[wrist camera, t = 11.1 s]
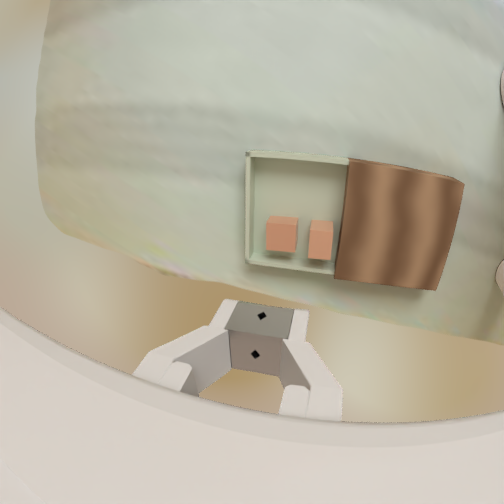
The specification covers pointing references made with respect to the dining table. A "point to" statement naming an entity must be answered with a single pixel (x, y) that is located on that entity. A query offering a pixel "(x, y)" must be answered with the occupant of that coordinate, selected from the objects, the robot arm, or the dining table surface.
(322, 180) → the tray
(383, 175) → the board
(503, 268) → the cup
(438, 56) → the dining table surface
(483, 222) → the dining table surface
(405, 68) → the dining table surface
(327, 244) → the tile
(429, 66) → the dining table surface
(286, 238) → the tile
